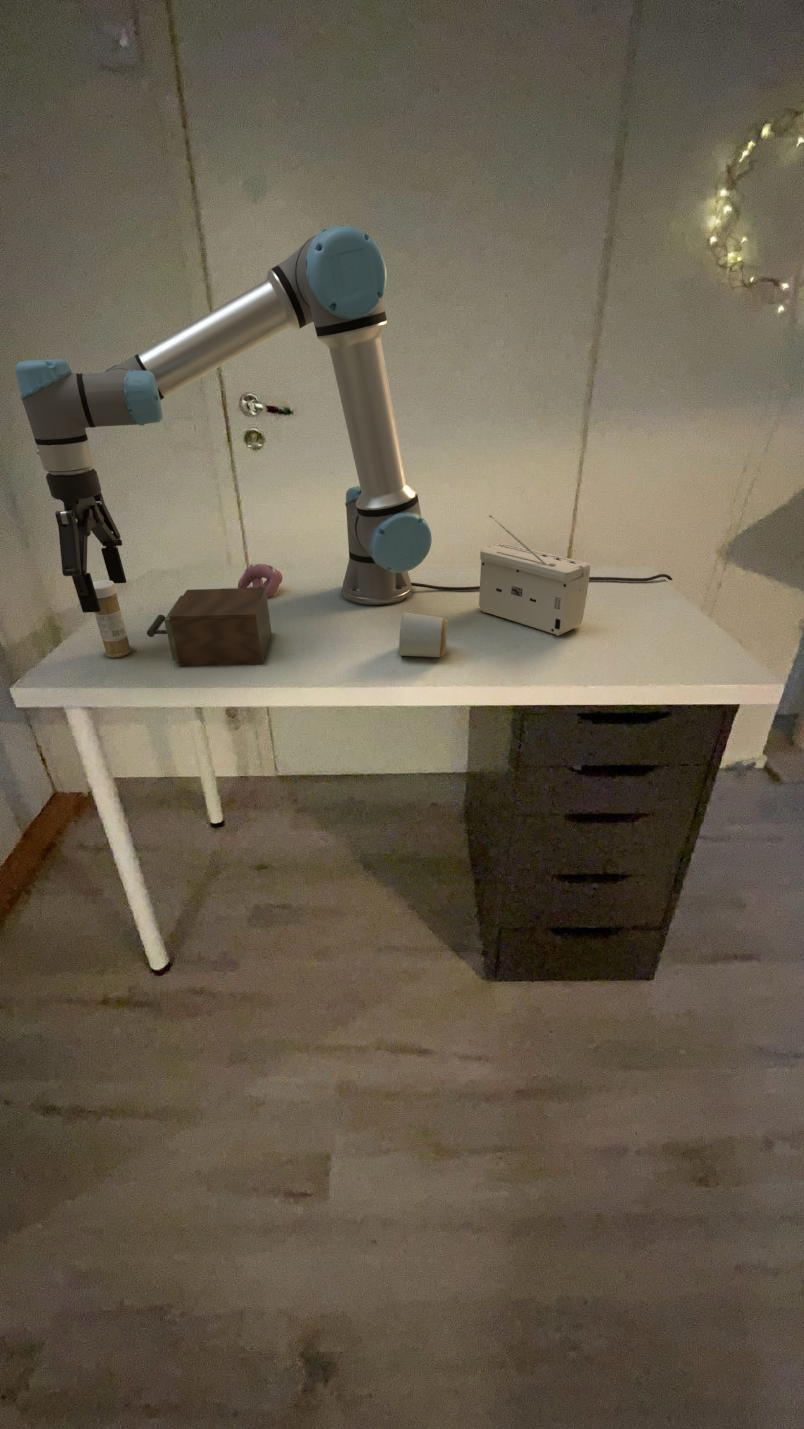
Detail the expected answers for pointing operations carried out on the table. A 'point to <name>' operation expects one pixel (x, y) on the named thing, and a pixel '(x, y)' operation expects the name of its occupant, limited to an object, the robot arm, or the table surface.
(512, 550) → the radio
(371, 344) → the robot arm
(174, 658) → the drawer
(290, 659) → the table surface
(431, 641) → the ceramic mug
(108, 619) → the sprinkles bottle
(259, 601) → the cabinet
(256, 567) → the pink curved ring
